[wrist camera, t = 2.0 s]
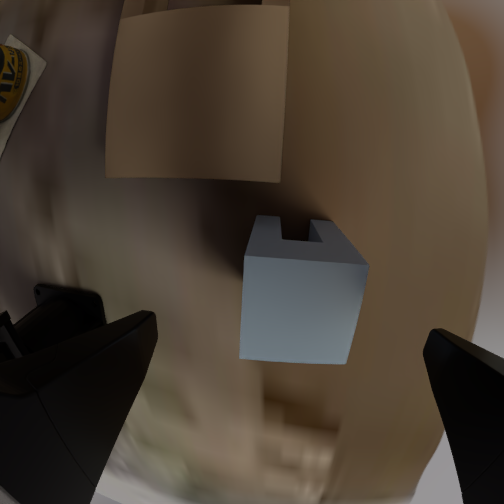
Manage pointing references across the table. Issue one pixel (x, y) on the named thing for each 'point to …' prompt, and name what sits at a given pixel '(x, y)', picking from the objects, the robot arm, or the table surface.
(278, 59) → the brown slotted block
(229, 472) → the table surface
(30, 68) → the condiment
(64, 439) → the robot arm
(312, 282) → the clip
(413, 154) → the table surface
